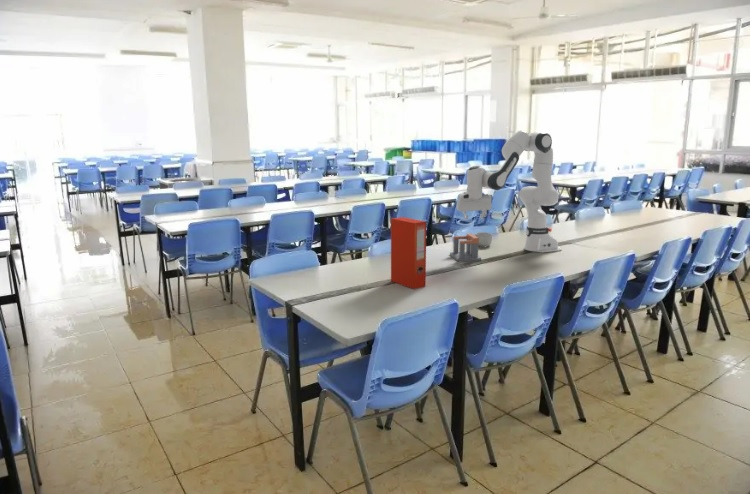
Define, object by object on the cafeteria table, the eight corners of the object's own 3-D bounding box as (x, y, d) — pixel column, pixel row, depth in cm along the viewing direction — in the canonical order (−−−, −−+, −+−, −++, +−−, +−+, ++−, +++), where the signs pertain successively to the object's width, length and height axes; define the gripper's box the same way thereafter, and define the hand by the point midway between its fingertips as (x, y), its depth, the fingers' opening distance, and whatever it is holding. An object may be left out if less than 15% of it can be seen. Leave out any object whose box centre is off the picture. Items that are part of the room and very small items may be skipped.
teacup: (490, 244, 344) (491, 232, 343) (492, 247, 334) (493, 235, 332) (469, 244, 346) (469, 232, 344) (470, 247, 335) (470, 235, 333)
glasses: (471, 238, 315) (471, 233, 314) (478, 243, 301) (478, 238, 300) (453, 239, 313) (453, 234, 313) (460, 243, 300) (460, 238, 299)
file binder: (403, 278, 268) (403, 216, 261) (425, 286, 254) (426, 221, 247) (391, 281, 263) (390, 218, 256) (413, 289, 250) (413, 223, 243)
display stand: (472, 253, 319) (472, 236, 316) (481, 260, 302) (481, 242, 300) (450, 254, 317) (450, 237, 314) (457, 261, 300) (458, 243, 298)
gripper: (489, 193, 307) (489, 216, 310) (455, 194, 304) (455, 218, 308) (493, 194, 301) (493, 218, 304) (458, 196, 298) (458, 219, 301)
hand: (473, 218), depth 306 cm, fingers open, 8 cm apart
